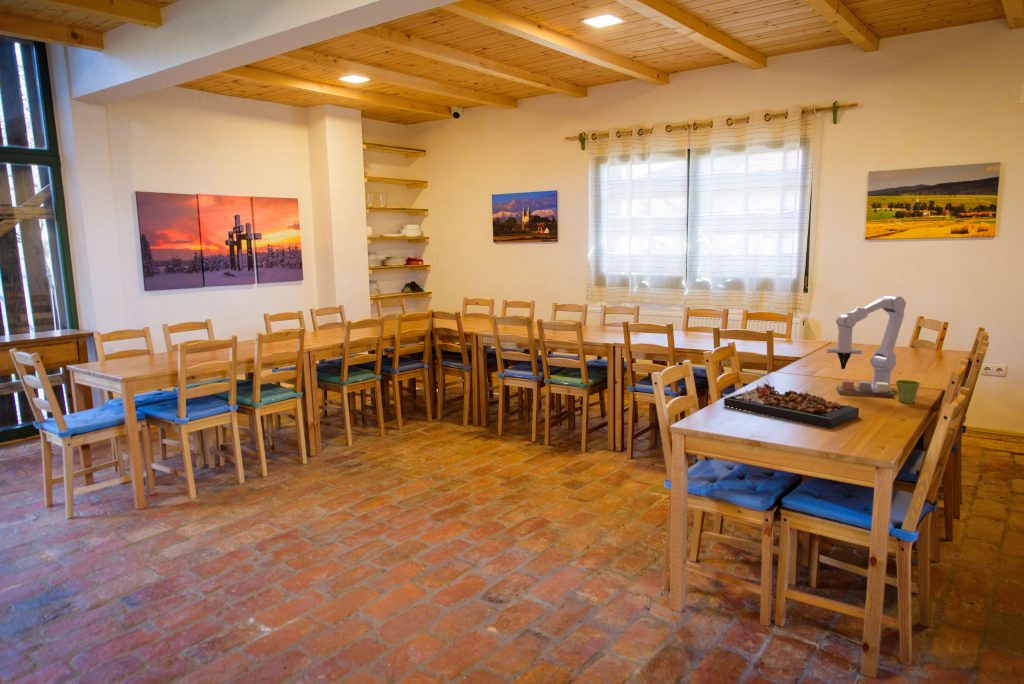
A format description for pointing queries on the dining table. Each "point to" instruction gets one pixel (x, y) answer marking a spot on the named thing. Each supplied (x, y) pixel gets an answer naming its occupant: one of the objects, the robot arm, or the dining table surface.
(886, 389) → the ivory key
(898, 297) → the robot arm
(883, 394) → the brown flat board
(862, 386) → the slate key
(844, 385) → the brick key
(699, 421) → the dining table surface
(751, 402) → the food platter
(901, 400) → the plant pot
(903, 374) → the dining table surface
